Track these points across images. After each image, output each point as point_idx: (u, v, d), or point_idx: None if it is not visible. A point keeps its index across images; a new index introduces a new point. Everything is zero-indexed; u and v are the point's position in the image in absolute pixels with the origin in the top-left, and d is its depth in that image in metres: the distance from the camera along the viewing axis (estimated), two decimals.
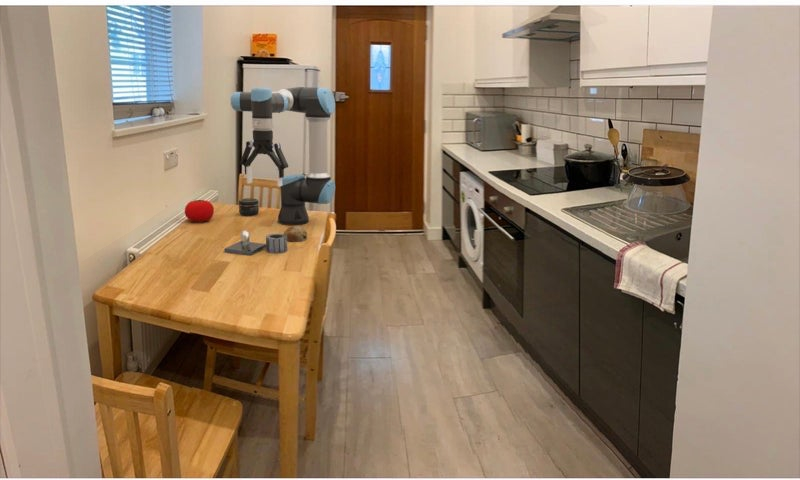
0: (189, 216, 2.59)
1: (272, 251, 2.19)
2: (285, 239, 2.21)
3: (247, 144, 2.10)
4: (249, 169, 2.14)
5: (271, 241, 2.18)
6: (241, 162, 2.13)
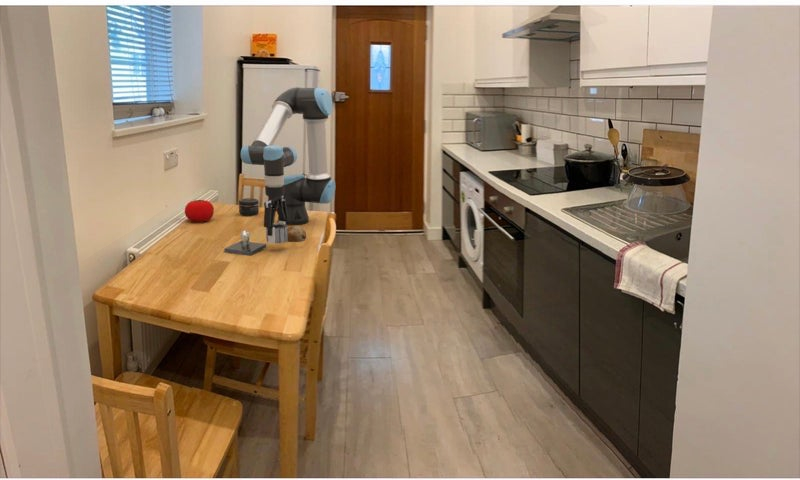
0: (189, 216, 2.59)
1: None
2: (285, 229, 2.20)
3: None
4: None
5: None
6: None
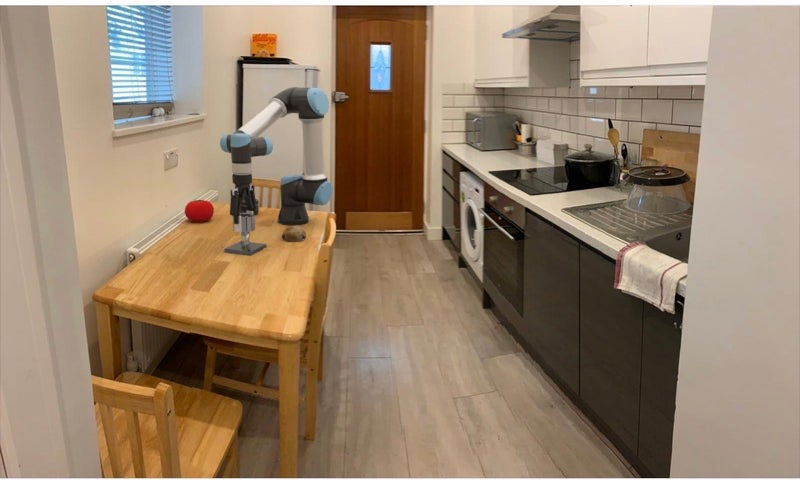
0: (189, 216, 2.59)
1: None
2: (252, 218, 2.18)
3: None
4: None
5: None
6: None
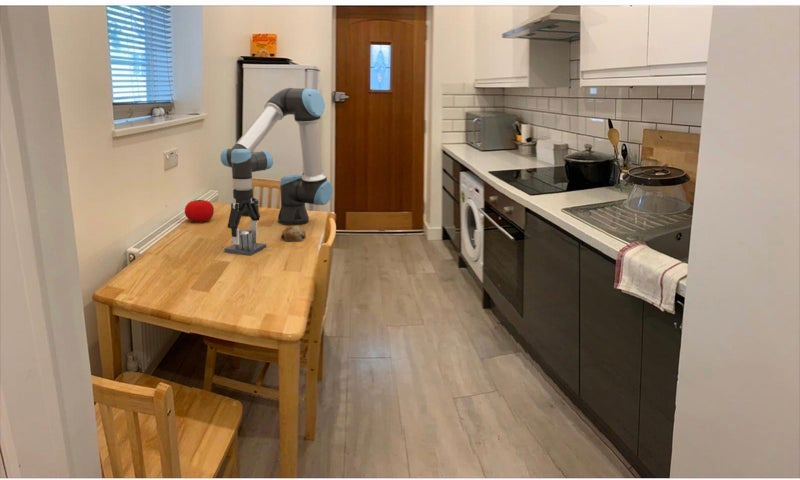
0: (189, 216, 2.59)
1: (240, 247, 2.18)
2: (254, 235, 2.20)
3: None
4: (252, 223, 2.26)
5: (239, 237, 2.17)
6: None
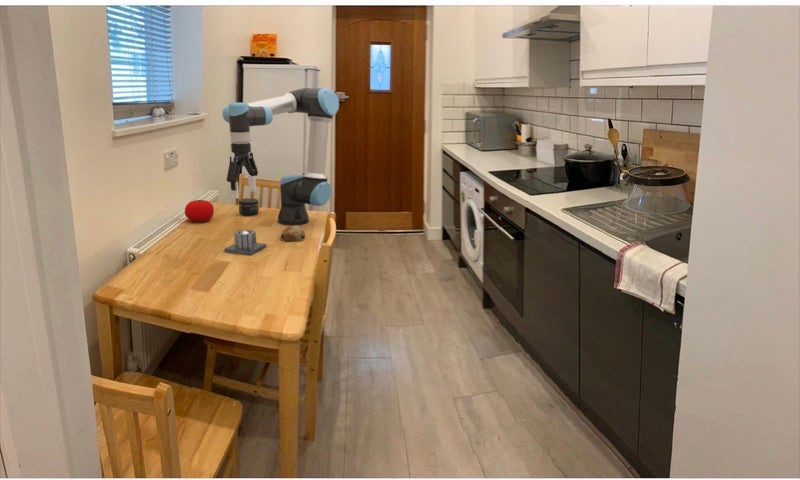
0: (189, 216, 2.59)
1: (240, 247, 2.18)
2: (254, 235, 2.20)
3: None
4: (250, 178, 2.28)
5: (239, 237, 2.17)
6: None
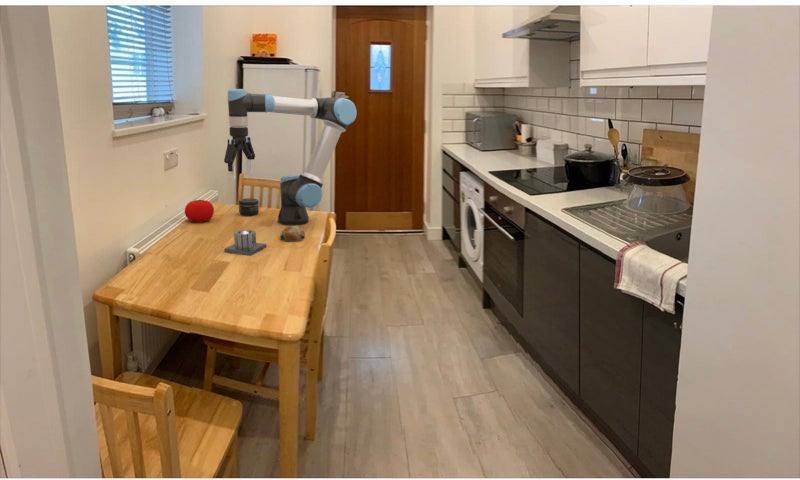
0: (189, 216, 2.59)
1: (240, 247, 2.18)
2: (254, 235, 2.20)
3: None
4: (247, 162, 2.40)
5: (239, 237, 2.17)
6: None
